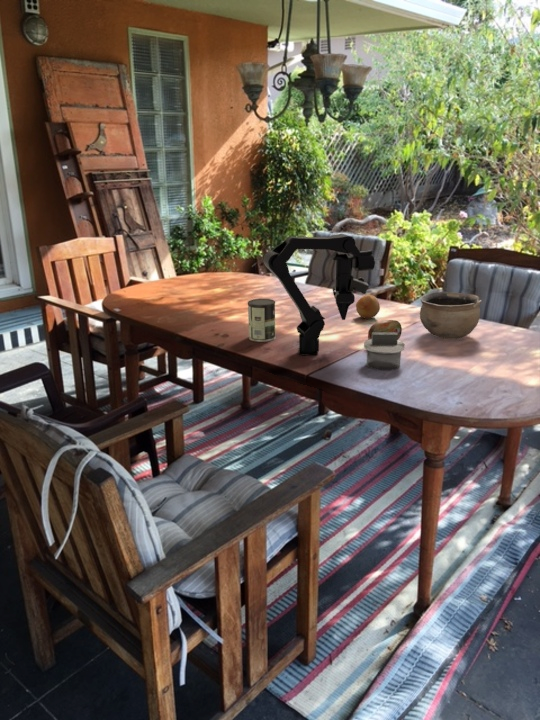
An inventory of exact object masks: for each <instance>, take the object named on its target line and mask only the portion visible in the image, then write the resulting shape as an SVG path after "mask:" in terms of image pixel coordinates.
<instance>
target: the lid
mask: <svg viewBox="0 0 540 720" xmlns="http://www.w3.org/2000/svg"><path fill="white" fill-rule="evenodd" d="M397 339H398V334H397V332H372V339H369V340H368V339H366V340H365V341H364V342H363V348H364V349H365V350H366V351H367V350H368V351H371V352H375V353H382V354H392V353H398V352H401V353H402V351H404V350H405V343H404V341H401V340H400V339H398V340H397Z"/></svg>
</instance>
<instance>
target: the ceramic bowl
mask: <svg viewBox="0 0 540 720" xmlns="http://www.w3.org/2000/svg"><path fill="white" fill-rule="evenodd" d="M419 299H420V302H421V304H422V305H421V307H420V311H419V319H420V321H421V324H422V325H423V327H424V329H426V330H427V331H428V332H429V334H431V335H432V336H434V337H436V338H440V339H444V340H445V339H446V340H458V339H463V338H465V337H466V336H468V335H469V334H471V333H472V332H473V331H474V330H475V328H476V327H477V326H478V324H479V321H480V318H481V309H480V305H481V303H482V300H481V299H480V297H479V296H478V295H476V294H472V293H461V292H460V293H459V292H450V291H449V292H447V291H439V292H431V293H427V294H425V295H422V296H420V298H419Z"/></svg>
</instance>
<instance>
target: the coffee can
mask: <svg viewBox="0 0 540 720" xmlns="http://www.w3.org/2000/svg"><path fill="white" fill-rule="evenodd" d="M247 307H248V309H247V314H248V339H249V340H250V341H252V342H257V343H259V342H260V343H263V342H264V343H265V342H270V341H274V340H276V300H274V299H271V298H255V299H250V300H248V301H247Z"/></svg>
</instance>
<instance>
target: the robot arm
mask: <svg viewBox="0 0 540 720" xmlns="http://www.w3.org/2000/svg"><path fill="white" fill-rule="evenodd" d="M297 250H329V251H332V252H333V251H334V252H333V253H332V254H331V255H330V256H329V259H330V260H332V261H335V268H334V269H335V273H334V283H333V284H332V295H333V296H334V299H335V304H336V306H337V309H338V310H337V311H338V312H339V315H340V319H341V320H342V321H345V320H346V318H347V315H348V310H349V307H350V306H351V305H352V304H354V303H355V301H356V300H355V298H356V297H355V294H354V293H353V292H354V291H357V292H359V293H361V294H363V295H367V294H366V293H367V291H368V289H369V284H368V282H366V281H365V279H364V277H361V276H358V278H354V275H353V269H354V270H355V272H363V271H373V270H374V269H375V266H376V261H375V256H374V255H373V251H372V250H370V249H367V250H362V251H360V249H358V246H357V245H356V240H355V239H354V237H353V236H350V235H348V234H345V233H344V234H343V233H339V234H338V233H337V234H334V235H333V234H332V235H330V236H325V237H319V236H313V237H312V236H292V235H291V236H288V237H287V238H286V239H284V240H283V242H281V243H279V244H278V245H276V246H275V247H274V248H273V249H272V250H271V251H267V252H266V253H265V254H264V256H263V260H262V262H263V264H264V266H265V267H266V268H267V269H268V270H269V271H270V273H272V274H273V275H274V276H275V277H276V278H277V279H278V280H279V282H280V283H281V285H282V287H283V288H284V290H285V291H286V293H287V294H288V296H289V298H290V299H291V301H292V302H293V303H294V305H295V307H296V308H297V310H298V312H299V315H300V319H301V322H300V323H299V324H298V325H297V326H296V332H297V333H298V334H299V335H298V355H300V356H306V355H307V356H309V355H310V356H313V355H315V356H316V355H318V353H319V351H320V339H319V337H320V335H321V333H322V331H323V330H324V329H325V325H326V323H325V319H326V318H325V317H324V316H323V315H322V313H321V311H320V309H319V308H317V307H316V306H315V305H312V306H310V304H309V302H308V301H307V299H306V298H305V296H304V294H303V292H302V291H301V290H300V287H299V286H298V285H297V283H296V282H295V280H294V279H293V277H292V276H291V273H290V271H289V270H290V269H289V266H288V264H287V262H289V260H290V259H291V257H292V256H293V255H294V253H296V251H297ZM348 254H349V255H348Z"/></svg>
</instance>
